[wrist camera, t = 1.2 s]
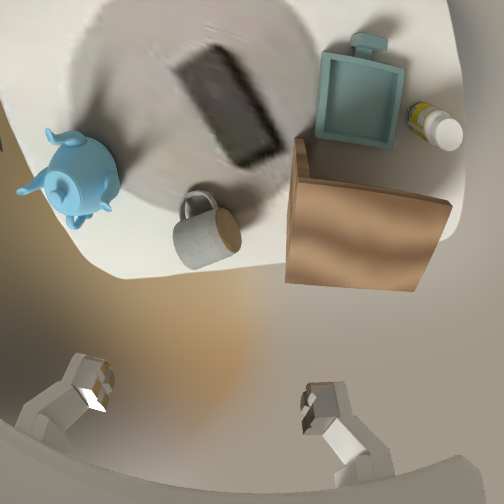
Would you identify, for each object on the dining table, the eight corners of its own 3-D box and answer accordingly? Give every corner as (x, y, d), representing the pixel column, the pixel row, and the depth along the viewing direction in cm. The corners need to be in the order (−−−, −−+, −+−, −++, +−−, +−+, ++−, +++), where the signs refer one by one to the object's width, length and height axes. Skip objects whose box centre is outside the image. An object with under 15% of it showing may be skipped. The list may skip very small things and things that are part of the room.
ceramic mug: (247, 233, 45) (240, 265, 39) (205, 249, 48) (193, 280, 42) (214, 177, 40) (199, 202, 34) (170, 199, 43) (151, 225, 37)
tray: (322, 30, 25) (328, 26, 21) (400, 47, 24) (416, 47, 20) (314, 133, 34) (318, 144, 30) (386, 144, 33) (398, 157, 29)
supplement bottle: (437, 131, 30) (467, 151, 24) (409, 136, 32) (436, 158, 25) (431, 98, 28) (463, 112, 21) (402, 104, 29) (430, 118, 23)
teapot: (96, 218, 47) (67, 253, 39) (48, 161, 40) (11, 189, 32) (143, 176, 41) (111, 211, 33) (87, 107, 33) (43, 128, 25)
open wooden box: (294, 138, 35) (298, 182, 24) (406, 155, 34) (452, 206, 23) (287, 215, 42) (285, 282, 31) (386, 226, 41) (413, 291, 30)
